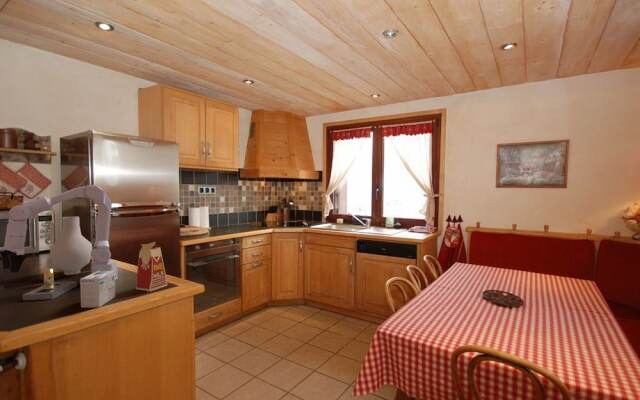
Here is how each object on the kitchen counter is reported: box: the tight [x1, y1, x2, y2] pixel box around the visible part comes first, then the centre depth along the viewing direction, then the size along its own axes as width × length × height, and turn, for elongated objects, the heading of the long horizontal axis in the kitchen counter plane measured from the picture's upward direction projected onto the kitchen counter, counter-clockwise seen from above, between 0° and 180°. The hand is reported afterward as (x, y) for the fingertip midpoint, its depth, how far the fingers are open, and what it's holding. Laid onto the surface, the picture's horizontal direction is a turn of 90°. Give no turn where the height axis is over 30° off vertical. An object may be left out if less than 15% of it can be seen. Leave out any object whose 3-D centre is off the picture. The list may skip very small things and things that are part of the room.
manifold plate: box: [22, 280, 78, 302], centre depth 129 cm, size 10×16×2 cm, turn 10°
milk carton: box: [135, 241, 168, 292], centre depth 137 cm, size 9×9×20 cm
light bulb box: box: [79, 271, 116, 309], centre depth 120 cm, size 11×7×11 cm, turn 5°
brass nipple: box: [43, 267, 55, 285], centre depth 140 cm, size 3×3×7 cm
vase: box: [49, 216, 93, 276], centre depth 158 cm, size 17×16×28 cm
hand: (10, 270), depth 125 cm, fingers open, 7 cm apart
